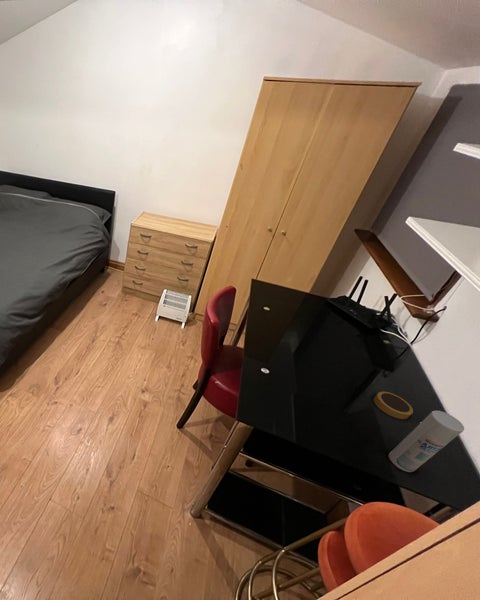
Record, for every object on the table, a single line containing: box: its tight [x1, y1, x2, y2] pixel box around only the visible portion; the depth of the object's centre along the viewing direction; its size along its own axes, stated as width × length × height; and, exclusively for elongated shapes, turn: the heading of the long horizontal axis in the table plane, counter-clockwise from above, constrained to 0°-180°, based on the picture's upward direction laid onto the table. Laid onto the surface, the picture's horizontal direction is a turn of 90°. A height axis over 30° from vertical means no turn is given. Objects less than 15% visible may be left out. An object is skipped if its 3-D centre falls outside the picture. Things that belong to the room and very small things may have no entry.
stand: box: [373, 391, 414, 420], centre depth 114 cm, size 10×10×3 cm
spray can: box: [388, 410, 465, 473], centre depth 91 cm, size 6×6×20 cm
